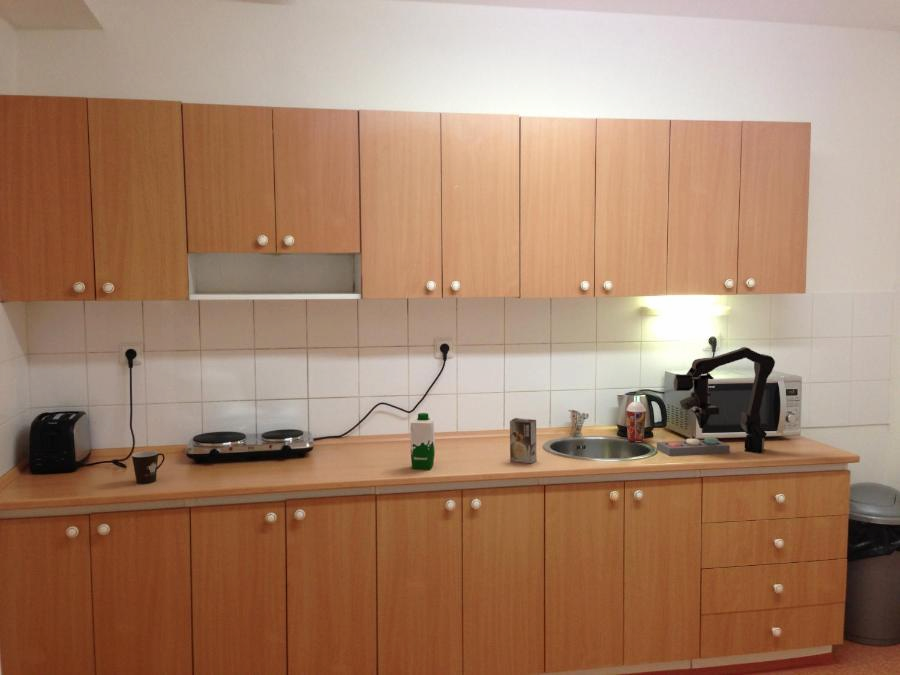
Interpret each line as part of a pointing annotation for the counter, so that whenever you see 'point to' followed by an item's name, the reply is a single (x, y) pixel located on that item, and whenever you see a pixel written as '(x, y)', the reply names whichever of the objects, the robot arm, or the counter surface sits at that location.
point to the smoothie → (635, 420)
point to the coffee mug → (146, 466)
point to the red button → (674, 444)
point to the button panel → (692, 448)
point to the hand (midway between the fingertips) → (701, 428)
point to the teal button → (711, 441)
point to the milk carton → (422, 442)
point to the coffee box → (523, 440)
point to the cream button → (692, 442)
